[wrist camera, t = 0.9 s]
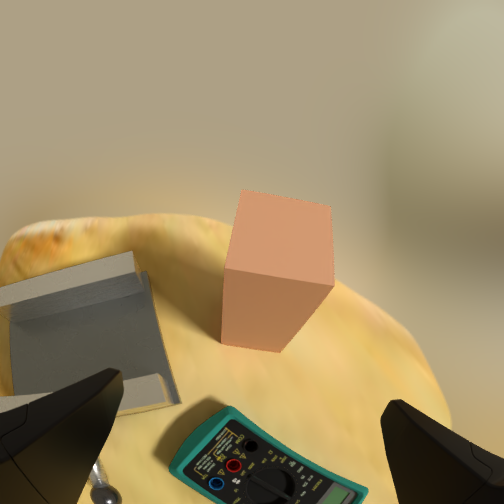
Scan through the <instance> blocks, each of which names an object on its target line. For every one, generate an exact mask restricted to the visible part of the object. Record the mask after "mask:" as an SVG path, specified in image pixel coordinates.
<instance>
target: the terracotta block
mask: <svg viewBox="0 0 504 504" xmlns="http://www.w3.org/2000/svg"><path fill="white" fill-rule="evenodd" d="M331 218H332V217H331V206H327V205H322V204H318V203H313V202H308V201H303V200H298V199H293V198H287V197H281V196H277V195H270V194H265V193H260V192H254V191H247V190H241V195H240V199H239V204H238V208H237V212H236V217H235V221H234V226H233V230H232V235H231V239H230V244H229V249H228V253H227V258H226V263H225V267H224V285H223V307H222V331H221V344H224V345H230V346H236V347H242V348H249V349H255V350H262V351H270V352H277V353H280V352H281V351H282V350H283V349H284V348H285V347H286V345H287V344H288V343H289V342H290V341H291V340H292V338H293V337H294V336H295V335H296V334H297V332H298V331H299V330H300V329H301V328H302V326H303V325H304V324H305V323H306V322H307V320H308V319H309V318H310V317H311V315H312V314H313V313H314V312H315V310H316V309H317V308H318V307H319V305H320V304H321V303H322V302H323V300H324V299H325V298H326V296H327V295H328V294H329V292H330V291H331V290H332V289H333V287H334V286H335V283H334V253H333V233H332V219H331Z"/></svg>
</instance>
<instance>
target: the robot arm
mask: <svg viewBox="0 0 504 504" xmlns="http://www.w3.org/2000/svg"><path fill="white" fill-rule="evenodd" d="M123 394H124V385H123V377H122V372H121V371H120V370H118V369H114V368H111V367H109V368H107V369H104V370H102V371H100V372H98V373H96V374H94V375H91V376H89V377H87V378H85V379H82V380H80V381H78V382H76V383H74V384H71V385H69V386H67V387H64V388H62V389H60V390H57V391H55V392H53V393H51V394H48V395H46V396H43V397H41V398H39V399H36V400H34V401H31V402H29V404H27V403H26V404H24V405H21V406H19V407H16V408H13V409H11V410H8V411H5V412H1V413H0V504H77V502H78V500H79V497H80V495H81V493H82V491H83V488H84V486H85V484H86V482H87V480H88V478H89V475H90V473H91V471H92V469H93V467H94V465H95V463H96V460H97V458H98V456H99V454H100V452H101V450H102V448H103V446H104V444H105V442H106V440H107V438H108V436H109V433H110V431H111V429H112V426H113V423H114V420H115V417H116V414H117V411H118V409H119V406H120V403H121V400H122V397H123ZM380 423H381V428H382V434H383V439H384V445H385V451H386V456H387V460H388V464H389V467H390V471H391V475H392V478H393V482H394V486H395V490H396V494H397V498H398V502H399V504H504V459H503V458H501V457H499V456H497V455H494V454H492V453H490V452H488V451H486V450H484V449H482V448H480V447H479V446H477V445H475V444H473V443H472V442H469V441H468V440H466V439H465V438H463V437H461V436H460V435H458V434H456V433H455V432H453V431H451V430H450V429H448V428H446V427H445V426H443V425H441V424H440V423H438V422H436V421H435V420H433V419H432V418H430V417H428V416H427V415H425V414H424V413H422V412H420V411H419V410H417V409H416V408H414V407H412V406H411V405H409V404H408V403H406V402H405V401H403V400H401V399H397V400H391V401H390V402H389V403H388V405H387V407H386V409H385V410H384V412H383V414H382V416H381V420H380Z"/></svg>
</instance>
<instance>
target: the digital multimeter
mask: <svg viewBox="0 0 504 504" xmlns="http://www.w3.org/2000/svg"><path fill="white" fill-rule="evenodd" d="M239 422H240V423H239ZM246 427H247V428H246ZM253 432H254V433H253ZM256 434H257V435H256ZM280 450H281V451H280ZM268 466H269V467H268ZM276 466H277V467H276ZM258 469H259V470H258ZM256 470H257V471H256ZM169 472H170V473H171V474H172V475H173V476H175V477H176V478H178V479H179V480H181V481H182V482H183V483H185V484H186V485H188V486H189V487H191V488H192V489H194V490H196V491H197V492H199V493H200V494H202V495H203V496H205V497H207V498H208V499H210V500H211V501H213V502H215V503H216V504H362V502H363V501H364V499H365V497H366V496H367V494H368V488H367V487H364V486H362V485H359V484H357V483H355V482H352V481H350V480H348V479H345V478H343V477H341V476H339V475H336V474H334V473H332V472H330V471H328V470H326V469H324V468H322V467H320V466H318V465H317V464H315V463H313V462H311V461H309V460H308V459H306V458H304V457H302V456H301V455H299V454H297V453H296V452H294V451H292V450H291V449H289V448H288V447H286V446H285V445H283V444H282V443H281V442H279V441H278V440H276V439H275V438H273V437H272V436H270V435H269V434H268V433H266V432H265V431H263V430H262V429H261V428H259V427H258V426H257V425H256V424H254V423H253V422H252V421H250V420H249V419H248V418H247V417H245V416H244V415H243V414H242V413H241V412H239V411H238V410H237V409H236V408H234V407H232V406H227V407H225V408H224V409H222V410H221V411H219V412H218V413H216V414H215V415H213V416H212V417H210V418H209V419H208V420H206V421H205V422H204V423H202V424H201V425H200V426H198V427H197V428H196V429H195V430H194V431H193V432H192V433H191V434H190V435H189V437H188V438H187V439H186V440H185V441H184V443H183V444H182V446H181V447H180V449H179V450H178V452H177V453H176V455H175V457H174V459H173V461H172V462H171V464H170V466H169ZM253 472H254V473H253ZM296 491H297V492H296Z"/></svg>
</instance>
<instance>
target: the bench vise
mask: <svg viewBox="0 0 504 504" xmlns="http://www.w3.org/2000/svg"><path fill="white" fill-rule="evenodd" d="M0 314H1V315H2V316H4V317H5V318H6V319H8V320H9V321H10V353H11V367H12V378H13V386H14V394H15V396H4V397H0V413H1V412H5V411H8V410H11V409H13V408H16V407H19V406H21V405H24V404H26V403H27V404H29V402H31V401H34V400H36V399H39V398H41V397H43V396H46V395H48V394H51V393H53V392H55V391H57V390H60V389H62V388H64V387H67V386H69V385H71V384H74V383H76V382H78V381H80V380H82V379H85V378H87V377H89V376H91V375H94V374H96V373H98V372H100V371H102V370H104V369H107V368H109V367H111V368H114V369H118V370H120V371H121V372H122V377H123V385H124V394H123V397H122V400H121V403H120V406H119V409H118V411H117V414H116V417H119V416H125V415H131V414H136V413H141V412H146V411H151V410H156V409H161V408H165V407H169V406H174V405H178V404H182V402H181V399H180V396H179V393H178V390H177V386H176V383H175V380H174V377H173V373H172V370H171V367H170V363H169V360H168V356H167V353H166V349H165V345H164V342H163V338H162V334H161V330H160V326H159V322H158V318H157V313H156V309H155V305H154V300H153V296H152V291H151V286H150V281H149V276H148V274H147V271H145V272H141V271H140V268H139V266H138V264H137V261H136V259H135V256H134V254H133V252H132V251H129V252H125V253H121V254H118V255H114V256H110V257H106V258H102V259H98V260H95V261H91V262H87V263H84V264H80V265H76V266H73V267H69V268H65V269H62V270H58V271H55V272H51V273H48V274H44V275H41V276H37V277H34V278H30V279H27V280H23V281H20V282H17V283H13V284H10V285H7V286H3V287H0ZM89 479H90V482H91V484H92V489H91V491H90V496H91V499H92V501H93V503H94V504H122V497H121V495H120V493H119V492H118V490H117V489H115V488H114V487H113V486H111V485H110V484H109V482H108V479H107V476H106V474H105V471H104V469H103V466H102V463H101V460H100V457H99V456H98V458H97V460H96V463H95V465H94V467H93V469H92V471H91V473H90V475H89Z"/></svg>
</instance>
